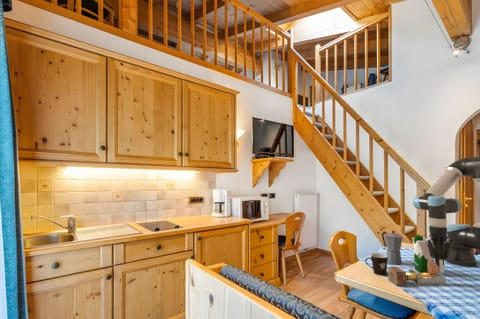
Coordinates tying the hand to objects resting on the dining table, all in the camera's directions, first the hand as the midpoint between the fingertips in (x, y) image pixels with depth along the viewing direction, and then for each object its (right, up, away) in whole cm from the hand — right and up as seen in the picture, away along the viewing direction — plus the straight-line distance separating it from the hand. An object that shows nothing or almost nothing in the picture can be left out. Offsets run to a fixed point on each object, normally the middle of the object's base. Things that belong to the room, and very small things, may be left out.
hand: (440, 271), depth 141 cm
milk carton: (+1, -6, +14) cm, 15 cm away
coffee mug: (-26, -7, +14) cm, 30 cm away
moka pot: (-8, -7, +30) cm, 31 cm away
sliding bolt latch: (-7, -5, 0) cm, 8 cm away
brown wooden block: (-22, -6, 0) cm, 23 cm away
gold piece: (-10, -4, 0) cm, 11 cm away
